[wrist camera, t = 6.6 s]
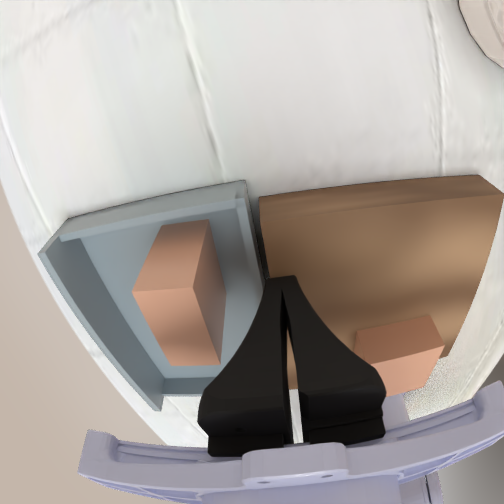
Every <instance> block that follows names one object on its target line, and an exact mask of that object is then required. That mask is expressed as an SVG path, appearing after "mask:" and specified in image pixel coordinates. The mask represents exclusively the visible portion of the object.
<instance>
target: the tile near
mask: <svg viewBox="0 0 504 504" xmlns="http://www.w3.org/2000/svg"><path fill="white" fill-rule="evenodd" d="M132 294H133V296H134V298H135V300H136V302H137V304H138V306H139V308H140V310H141V312H142V314H143V316H144V318H145V320H146V322H147V323H148V325H149V327H150V329H151V331H152V333H153V335H154V337H155V338H156V340H157V342H158V344H159V346H160V347H161V349H162V351H163V353H164V354H165V356H166V358H167V360H168V361H169V363H170V365H171V366H202V365H221V353H222V341H223V329H224V318H225V306H226V295H227V293H226V289H225V285H224V281H223V277H222V273H221V269H220V265H219V261H218V256H217V252H216V248H215V244H214V240H213V235H212V231H211V227H210V222H209V219H205V220H197V221H189V222H182V223H175V224H168V225H162V226H161V228H160V230H159V232H158V234H157V236H156V238H155V240H154V242H153V244H152V247H151V249H150V251H149V253H148V255H147V258H146V260H145V262H144V264H143V266H142V269H141V271H140V273H139V276H138V278H137V280H136V283H135V285H134V287H133V290H132Z"/></svg>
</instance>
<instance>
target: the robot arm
mask: <svg viewBox="0 0 504 504" xmlns="http://www.w3.org/2000/svg"><path fill="white" fill-rule="evenodd" d="M287 328H288V333H289V337H290V342H291V347H292V351H293V356H294V361H295V365H296V374H297V384H298V393H299V402H300V412H301V422H302V432H303V442H304V443H297V444H294V440H293V429H292V418H291V407H290V396H289V385H288V373H287ZM405 393H406V392H404V393H400V394H397V395H393V396H389V397H386V394H387V391H386V387H385V385H384V383H383V380H382V378H381V377H380V375H379V373H378V371H377V370H376V368H374V367H373V366H371V365H370V364H368V363H367V362H366V361H364V360H363V359H361V358H360V357H359V356H358V355H356V354H355V353H354V352H353V351H351V350H350V349H349V348H348V347H347V346H346V345H345V344H344V343H343V342H342V341H340V340H339V339H338V338H337V337H336V336H335V335H334V333H333V332H332V331H331V330H330V329H329V328H328V327H327V326H326V325H325V323H324V322H323V321H322V320H321V318H320V317H319V316H318V314H317V313H316V312H315V310H314V309H313V307H312V306H311V304H310V303H309V301H308V300H307V298H306V296H305V295H304V293H303V291H302V289H301V287H300V285H299V283H298V280H297V277H296V276H295V275H290V276H283V277H276V278H268V279H267V280H266V281H265V286H264V291H263V295H262V298H261V301H260V304H259V307H258V310H257V312H256V315H255V317H254V319H253V322H252V324H251V326H250V328H249V330H248V332H247V334H246V336H245V338H244V340H243V341H242V343H241V345H240V346H239V348H238V349H237V351H236V352H235V354H234V355H233V357H232V358H231V359H230V361H229V362H228V363H227V365H226V366H225V367H224V368H223V370H222V371H221V372H220V373H219V374H218V375H217V376H216V378H215V379H214V380H213V381H212V382H211V383H210V384H209V385H208V386H207V387H206V388H205V389H204V391H203V394H202V397H201V400H200V404H199V410H198V420H197V422H198V424H199V426H200V427H201V428H202V429H203V430H204V431H205V432H206V434H207V435H208V436H209V438H208V448H200V447H178V446H163V445H153V444H144V443H135V442H128V441H122V440H118V439H117V438H116V437H115V436H113V435H111V434H109V433H106V432H100V431H95V430H88V432H87V435H86V439H85V443H84V446H83V450H82V455H81V459H80V463H79V467H78V474H80V475H82V476H84V477H86V478H88V479H90V480H92V481H94V482H96V483H98V484H101V485H103V486H105V487H108V488H112V489H116V490H120V491H124V492H128V493H132V494H137V495H142V496H147V497H151V498H157V499H162V500H168V501H174V502H180V503H187V504H430V503H431V504H444V503H443V496H442V491H441V486H440V481H439V477H438V473H437V470H440V469H442V468H445V467H447V466H449V465H451V464H454V463H456V462H458V461H460V460H462V459H464V458H466V457H468V456H470V455H473V454H475V453H477V452H478V451H480V450H483V449H484V448H486V447H488V446H490V445H492V444H494V443H495V442H496V441H498V440H499V439H500V438H501V437H503V436H504V387H503V384H502V382H501V381H497V382H495V383H492V384H490V385H488V386H486V387H484V388H482V389H480V390H479V391H478V392H477V393H476V394H475V395H474V397H473V398H472V399H470V400H467V401H465V402H463V403H460V404H457V405H455V406H452V407H450V408H447V409H444V410H441V411H438V412H436V413H433V414H430V415H427V416H423V417H420V418H417V419H414V420H411V421H410V419H409V416H408V412H407V409H406V405H405V402H404V398H403V397H404V395H405ZM424 476H425V477H426V481H425V477H424ZM426 482H427V483H426Z"/></svg>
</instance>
